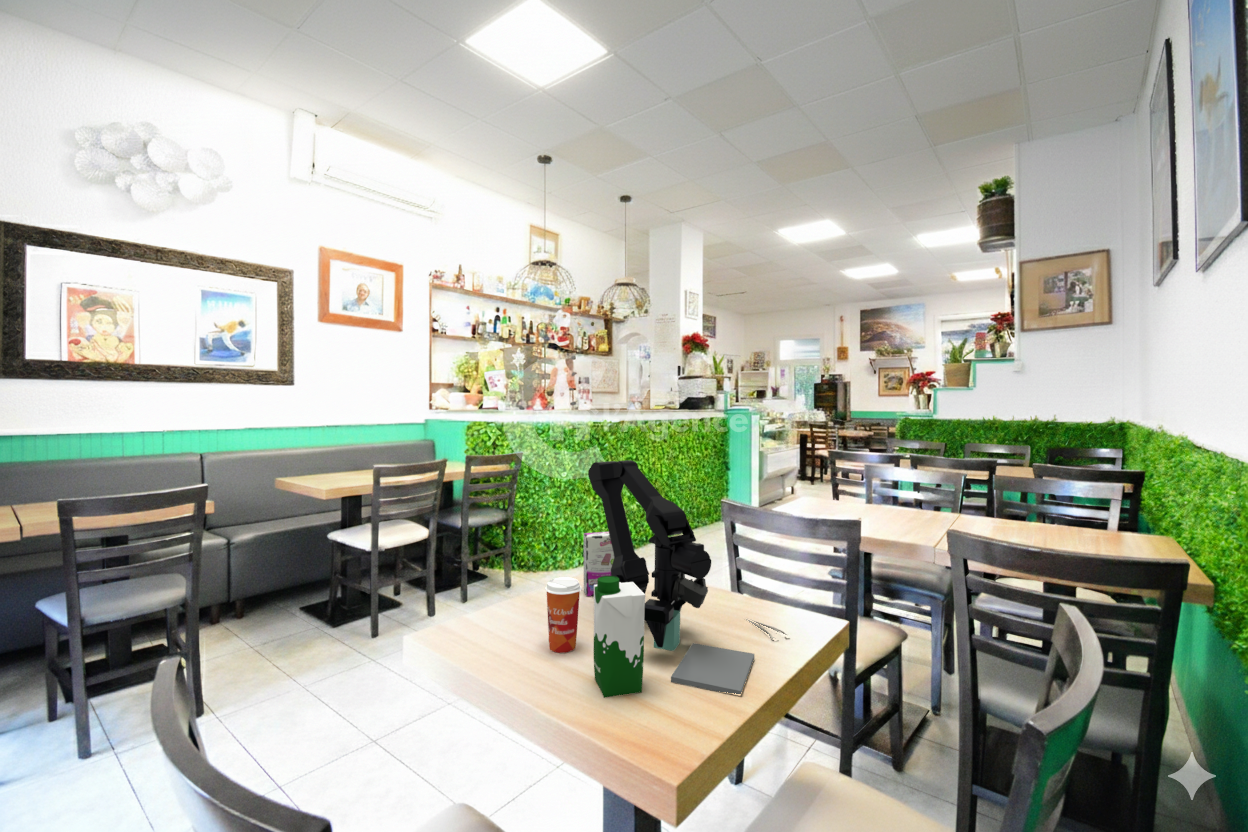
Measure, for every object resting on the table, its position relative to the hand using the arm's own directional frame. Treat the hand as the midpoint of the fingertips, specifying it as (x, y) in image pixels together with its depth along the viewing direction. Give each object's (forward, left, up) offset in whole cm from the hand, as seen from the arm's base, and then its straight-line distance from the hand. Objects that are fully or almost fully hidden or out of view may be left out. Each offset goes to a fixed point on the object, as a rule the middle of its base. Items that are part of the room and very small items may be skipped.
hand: (666, 638), depth 119 cm
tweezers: (+17, +19, -2) cm, 25 cm away
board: (+12, -7, -1) cm, 14 cm away
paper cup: (-20, -10, -2) cm, 22 cm away
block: (0, 0, -2) cm, 2 cm away
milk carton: (-3, -20, -2) cm, 20 cm away
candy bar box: (-26, +25, -2) cm, 36 cm away
